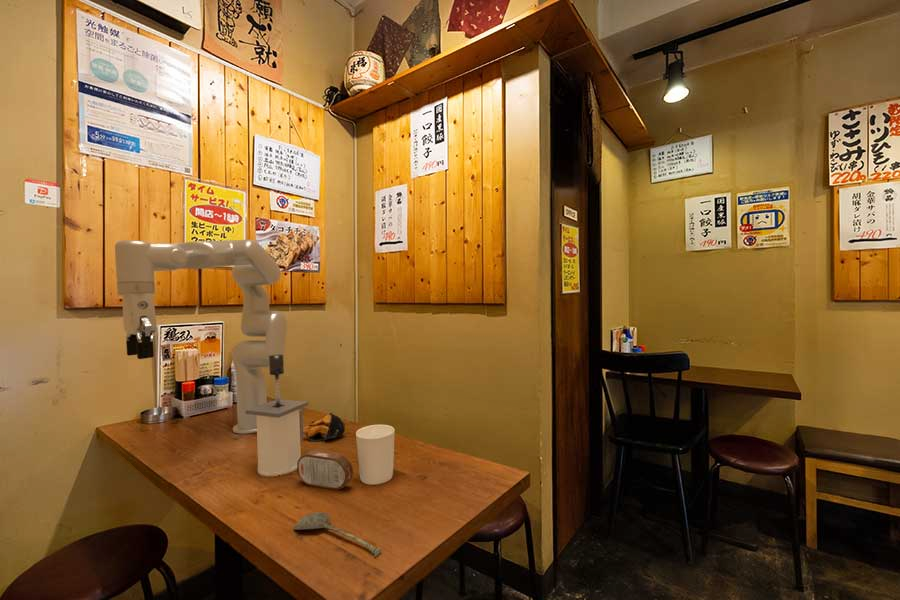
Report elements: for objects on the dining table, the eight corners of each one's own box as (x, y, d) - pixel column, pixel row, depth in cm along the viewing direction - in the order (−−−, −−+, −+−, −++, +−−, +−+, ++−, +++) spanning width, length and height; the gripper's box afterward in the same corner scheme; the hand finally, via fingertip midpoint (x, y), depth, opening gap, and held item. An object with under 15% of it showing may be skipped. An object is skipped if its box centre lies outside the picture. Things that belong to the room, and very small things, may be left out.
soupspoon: (314, 517, 84) (287, 534, 79) (312, 502, 84) (285, 518, 79) (390, 547, 72) (365, 570, 67) (388, 529, 72) (363, 551, 67)
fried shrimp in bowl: (348, 427, 124) (290, 417, 117) (337, 454, 127) (280, 445, 120) (348, 409, 132) (294, 399, 126) (338, 434, 135) (284, 425, 129)
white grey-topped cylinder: (286, 452, 117) (284, 396, 116) (316, 457, 113) (314, 399, 112) (247, 473, 104) (245, 410, 103) (280, 479, 100) (278, 413, 100)
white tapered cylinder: (362, 490, 93) (361, 441, 93) (353, 473, 102) (351, 428, 102) (401, 480, 98) (400, 433, 97) (388, 465, 106) (387, 422, 106)
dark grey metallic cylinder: (278, 410, 112) (276, 352, 111) (299, 413, 109) (297, 353, 109) (256, 419, 105) (254, 357, 104) (278, 421, 102) (276, 358, 102)
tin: (354, 487, 95) (353, 453, 95) (346, 493, 92) (345, 458, 92) (304, 479, 100) (302, 446, 99) (295, 485, 97) (294, 451, 96)
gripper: (165, 288, 96) (168, 357, 97) (144, 289, 107) (148, 351, 107) (126, 289, 90) (130, 362, 91) (109, 290, 101) (113, 355, 101)
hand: (140, 356), depth 99 cm, fingers open, 9 cm apart
